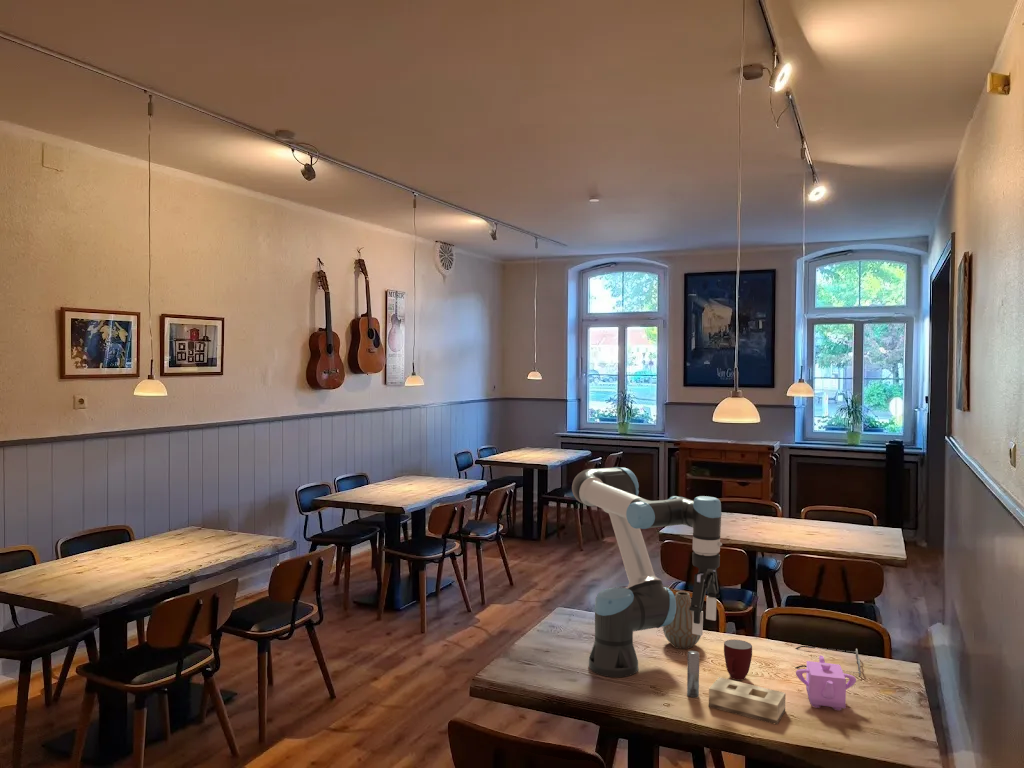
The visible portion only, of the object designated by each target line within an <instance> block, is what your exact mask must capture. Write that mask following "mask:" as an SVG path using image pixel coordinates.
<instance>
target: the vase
mask: <svg viewBox="0 0 1024 768" xmlns="http://www.w3.org/2000/svg"><path fill="white" fill-rule="evenodd" d="M674 596H675V599H676V614H675V617H674V620H673V621H672V622H671V623H670V624H669V625H666V626H662V633H664V634H663V635H664V637H665V638H666V640H667V641H668V643H670V644H671V646H673V647H675V648H676V649H684V650H685V649H686V650H687V649H688V650H689V649H691V648H693V647H694V646H695V645H696V644H697V643H698V642H699V641H700V639H701V637H702V636H701V635H697V634H692V616H693V611H691V610H689V607H690V606H691V600H692V597H691V596H690V592H687V591H683V590H682V591H680V590H679V591H677V592H675V595H674ZM695 607H697V606H695Z"/></svg>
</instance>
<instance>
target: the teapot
mask: <svg viewBox="0 0 1024 768" xmlns="http://www.w3.org/2000/svg"><path fill="white" fill-rule="evenodd" d="M818 658H819V661H812V660H811V661H809V660H807V661H806V666H807V667H806V668H800V669H799V668H798V669H797V670H796V671H795V676H796V677H797V678H798V680H800V681H801V682H802V683H803V684H804V685H805V688H806V692H807V696H808V697H807V698H808V699H809V700H808V701H809V704H810V705H811V707H813V708H817V709H818V708H820V709H821V706H823V707H830V708H832V709H833V710H835V711H842V709H846V704H847V703H846V702H847V701H846V700H847V697H846V696H847V695H846V694H847V691H846V690H848V689H850V688H852V687H853V686H854V685H855V683H856V682H857V678H856V676H854V675H851V674H848V673H844V670H843V669H842V667H841V665H840V664H838V663H837V664H835V663H827V662H825V657H824V656H823V655H819V657H818ZM842 670H843V671H842ZM803 674H806V675H805V676H806V678H804V676H803ZM846 678H847V679H849V680H848V681H847V679H846Z"/></svg>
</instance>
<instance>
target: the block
mask: <svg viewBox="0 0 1024 768" xmlns="http://www.w3.org/2000/svg"><path fill="white" fill-rule="evenodd" d="M708 707H709V708H713V709H717V710H720V711H725V712H728V713H731V714H735V715H740V716H741V717H742V716H743V717H747V718H751V719H754V720H757V721H761V720H762V722H765V721H766V722H765V723H769V722H770V723H769V724H773V723H775V724H774V725H778V724H779V723H780V721H781V719H782V717H783V716H784V714H785V712H786V692H783V691H779V690H774V689H770V688H766V687H762V686H760V685H759V686H758V685H755V684H750V683H745V682H741V681H739V680H735V679H729V678H724V677H721V676H718V678H717V679H715V681H714V682H713V683H712V684H711V685H710V687H708ZM779 720H780V721H779Z"/></svg>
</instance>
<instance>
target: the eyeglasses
mask: <svg viewBox="0 0 1024 768" xmlns="http://www.w3.org/2000/svg"><path fill="white" fill-rule="evenodd" d="M801 648H808V649H809V648H810V649H817V647H816V646H810V645H800V646H798V647H795V648H794V649H796V650H799V649H801ZM820 649H822V650H826V648H824V647H820ZM829 650H832V651H835V648H834V649H833V648H829ZM838 651H842V652H844V650H843V649H842V650H840V649H838ZM847 652H848V653H853V651H852V650H851V651H850V650H847ZM854 654H855V659H856V663H857V671H855V673H856V674H857V673H858V676H859V677H861V673H862V672H861V671H862V670H861V660H860V657H859V651H858V648H855V651H854ZM805 667H806V668H807V665H804V664H801V665H799V666H796V667H794V668H795V669H799V668H800V669H801V668H805ZM842 671H843V672H844V670H843V669H842ZM847 672H849V673H853V671H851V670H847Z"/></svg>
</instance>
